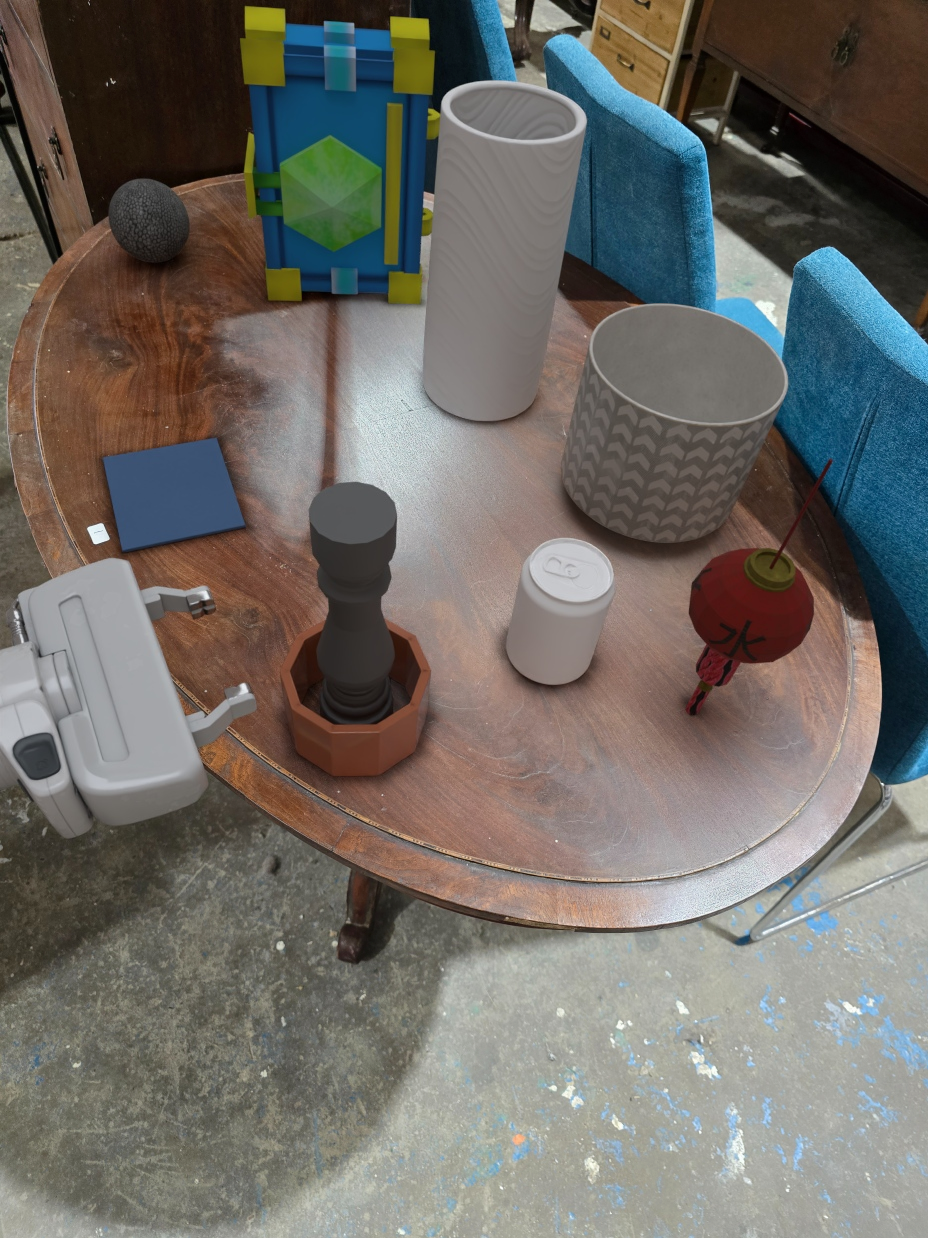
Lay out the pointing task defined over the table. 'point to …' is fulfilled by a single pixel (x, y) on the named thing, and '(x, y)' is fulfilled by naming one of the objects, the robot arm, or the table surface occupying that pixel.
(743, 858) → the table surface
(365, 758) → the terracotta pot
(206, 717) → the robot arm
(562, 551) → the beverage can
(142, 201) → the decorative ball
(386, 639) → the candle holder
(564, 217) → the vase
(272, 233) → the decorative book
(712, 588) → the lantern
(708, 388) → the planter
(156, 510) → the blue cloth
